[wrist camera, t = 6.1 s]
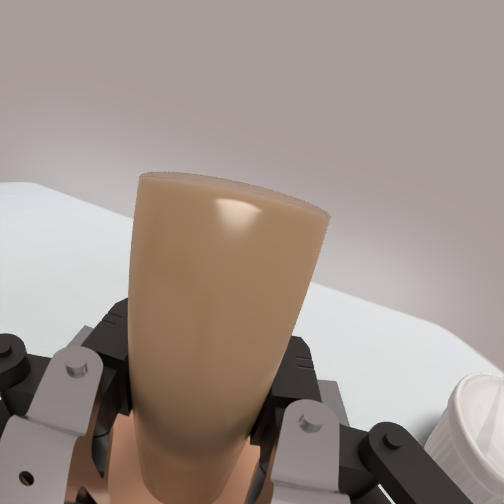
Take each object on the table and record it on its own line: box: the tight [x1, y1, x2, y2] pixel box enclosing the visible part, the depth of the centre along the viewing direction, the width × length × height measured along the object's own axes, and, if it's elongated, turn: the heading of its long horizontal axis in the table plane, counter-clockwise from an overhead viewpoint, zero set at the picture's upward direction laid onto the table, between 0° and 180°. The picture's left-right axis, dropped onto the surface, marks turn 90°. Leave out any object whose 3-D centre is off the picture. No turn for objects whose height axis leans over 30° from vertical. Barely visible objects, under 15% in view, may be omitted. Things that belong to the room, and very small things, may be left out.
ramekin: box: [424, 372, 504, 504], centre depth 8 cm, size 11×11×5 cm
